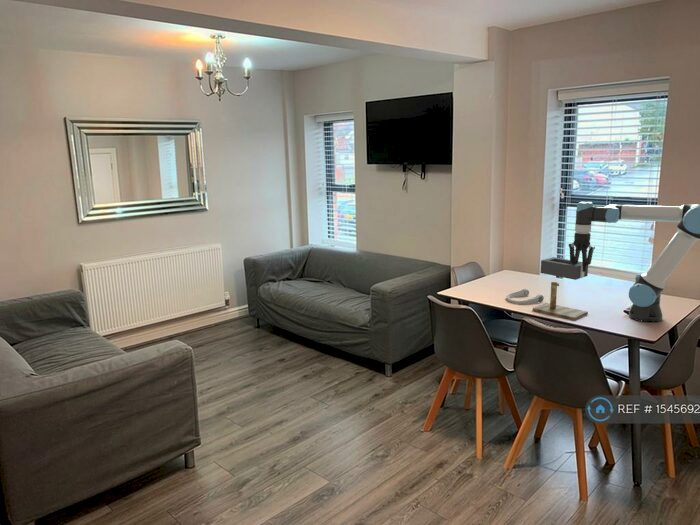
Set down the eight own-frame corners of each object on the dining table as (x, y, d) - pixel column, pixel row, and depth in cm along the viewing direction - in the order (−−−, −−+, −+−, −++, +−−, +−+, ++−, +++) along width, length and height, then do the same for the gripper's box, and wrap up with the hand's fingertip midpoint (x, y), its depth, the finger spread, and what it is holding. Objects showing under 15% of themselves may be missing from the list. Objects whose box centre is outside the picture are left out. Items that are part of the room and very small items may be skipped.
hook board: (587, 314, 276) (589, 285, 273) (574, 320, 268) (576, 290, 264) (545, 305, 294) (547, 277, 291) (532, 310, 286) (533, 282, 282)
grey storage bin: (587, 275, 274) (588, 263, 273) (575, 279, 267) (576, 266, 266) (552, 269, 290) (553, 257, 288) (540, 272, 282) (541, 260, 281)
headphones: (517, 306, 296) (518, 297, 295) (501, 298, 311) (501, 290, 310) (544, 302, 301) (545, 294, 300) (527, 295, 316) (527, 287, 315)
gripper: (601, 233, 263) (597, 278, 268) (572, 229, 275) (568, 273, 280) (593, 235, 258) (589, 280, 263) (564, 231, 270) (561, 275, 275)
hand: (579, 276), depth 271 cm, fingers closed on grey storage bin, 2 cm apart
